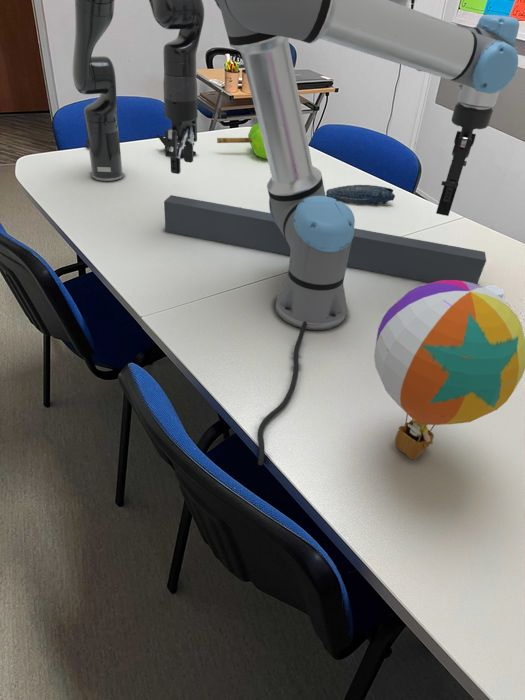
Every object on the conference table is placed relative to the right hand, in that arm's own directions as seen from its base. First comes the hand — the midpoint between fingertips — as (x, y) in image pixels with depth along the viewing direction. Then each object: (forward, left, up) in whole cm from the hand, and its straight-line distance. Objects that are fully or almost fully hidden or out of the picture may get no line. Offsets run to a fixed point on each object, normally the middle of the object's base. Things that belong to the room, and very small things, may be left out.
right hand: (445, 203), depth 120 cm
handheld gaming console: (+61, +82, -18) cm, 104 cm away
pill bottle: (-22, -10, -18) cm, 30 cm away
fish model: (+39, +17, -18) cm, 46 cm away
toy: (-62, +8, -18) cm, 65 cm away
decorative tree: (+70, +54, -18) cm, 90 cm away
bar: (-1, +28, -18) cm, 33 cm away
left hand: (+3, +63, -1) cm, 63 cm away
